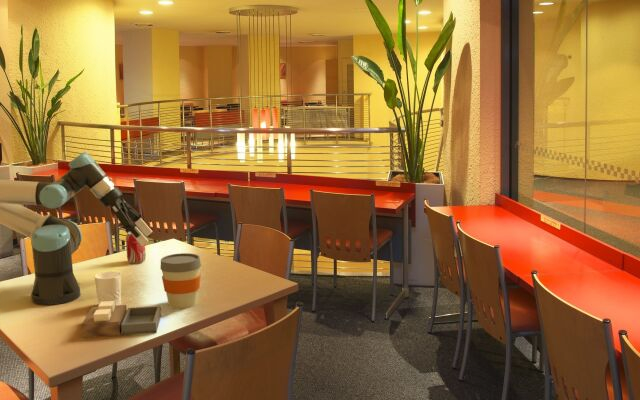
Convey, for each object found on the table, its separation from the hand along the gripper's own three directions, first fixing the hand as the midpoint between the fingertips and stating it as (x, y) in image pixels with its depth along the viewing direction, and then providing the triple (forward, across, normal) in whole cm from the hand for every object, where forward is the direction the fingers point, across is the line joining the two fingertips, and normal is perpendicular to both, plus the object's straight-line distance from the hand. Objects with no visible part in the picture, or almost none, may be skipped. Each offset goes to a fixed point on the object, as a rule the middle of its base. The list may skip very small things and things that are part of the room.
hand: (147, 238), depth 232 cm
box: (+14, -44, +7) cm, 47 cm away
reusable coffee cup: (+20, -27, -2) cm, 34 cm away
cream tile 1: (+4, -40, +13) cm, 43 cm away
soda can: (+8, +26, +16) cm, 31 cm away
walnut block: (+8, -44, +15) cm, 47 cm away
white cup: (+7, -24, +17) cm, 31 cm away
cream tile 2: (+4, -47, +13) cm, 49 cm away
